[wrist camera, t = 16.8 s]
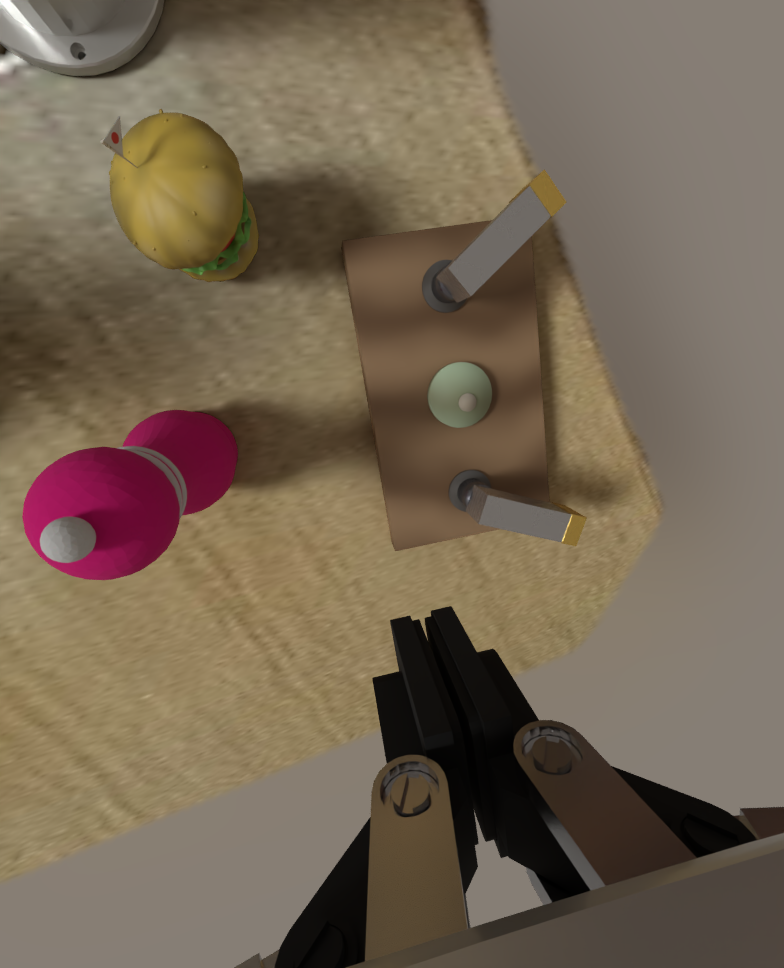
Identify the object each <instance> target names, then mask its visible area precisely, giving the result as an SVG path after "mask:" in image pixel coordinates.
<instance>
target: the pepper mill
mask: <svg viewBox="0 0 784 968" xmlns="http://www.w3.org/2000/svg"><path fill="white" fill-rule="evenodd" d="M237 458H238V449H237V444H236V441H235V438H234V436H233V435H232V433H231V431H230V430H229V429H228V428H227V426H226V425H224V424H223V423H222V422H221V421H220V420H218V419H217V418H215V417H213V416H211V415H208V414H205V413H201V412H190V411H184V410H170V411H164V412H160V413H157V414H155V415H152V416H150V417H149V418H147V419H145V420H144V421H142V422H141V423H139V424H138V425H137V426H136V427H135V428H134V429H133V430H132V431H131V432H130V433H129V435H128V436H127V438H126V440H125V442H124V444H123V447H119V448H110V447H97V448H90V449H84V450H79V451H76V452H73V453H70V454H68V455H66V456H64V457H62V458H60V459H58V460H57V461H55V462H54V463H53V464H51V465H50V466H48V467H47V468H46V469H45V470H44V471H43V472H42V473H41V474H40V475H39V476H38V477H37V478H36V480H35V481H34V483H33V484H32V486H31V488H30V489H29V491H28V493H27V496H26V498H25V502H24V508H23V522H24V528H25V533H26V535H27V537H28V539H29V541H30V543H31V545H32V547H33V548H34V549H35V551H36V552H37V553H38V554H39V556H40V557H41V558H42V559H44V560H45V561H46V562H47V563H48V564H50V565H51V566H53V567H55V568H56V569H58V570H60V571H62V572H64V573H67V574H69V575H71V576H75V577H79V578H83V579H91V580H109V579H116V578H120V577H124V576H127V575H131V574H133V573H135V572H138V571H140V570H142V569H143V568H145V567H146V566H148V565H149V564H151V563H152V562H154V561H155V560H156V559H157V558H158V557H159V556H160V555H161V554H162V553H163V552H164V551H165V550H166V549H167V548H168V546H169V544H170V543H171V541H172V539H173V538H174V536H175V534H176V531H177V528H178V524H179V519H180V517H181V516H182V515H187V514H192V513H195V512H199V511H202V510H204V509H206V508H208V507H209V506H211V505H212V504H214V503H215V502H216V501H217V500H219V499H220V498H221V497H222V496H223V495H224V494H225V493H226V491H227V490H228V488H229V487H230V485H231V483H232V480H233V477H234V474H235V466H236V463H237Z"/></svg>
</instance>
